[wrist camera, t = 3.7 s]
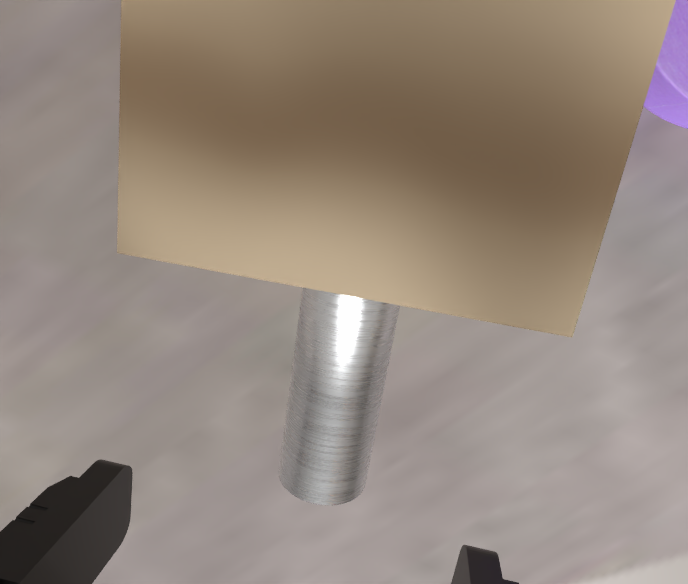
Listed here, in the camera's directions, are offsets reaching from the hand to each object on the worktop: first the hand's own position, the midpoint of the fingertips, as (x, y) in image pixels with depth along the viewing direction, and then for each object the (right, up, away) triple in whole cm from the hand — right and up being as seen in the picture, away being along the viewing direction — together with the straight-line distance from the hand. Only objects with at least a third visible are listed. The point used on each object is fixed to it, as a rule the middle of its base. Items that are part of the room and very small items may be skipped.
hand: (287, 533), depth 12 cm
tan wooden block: (+3, +13, +9) cm, 16 cm away
